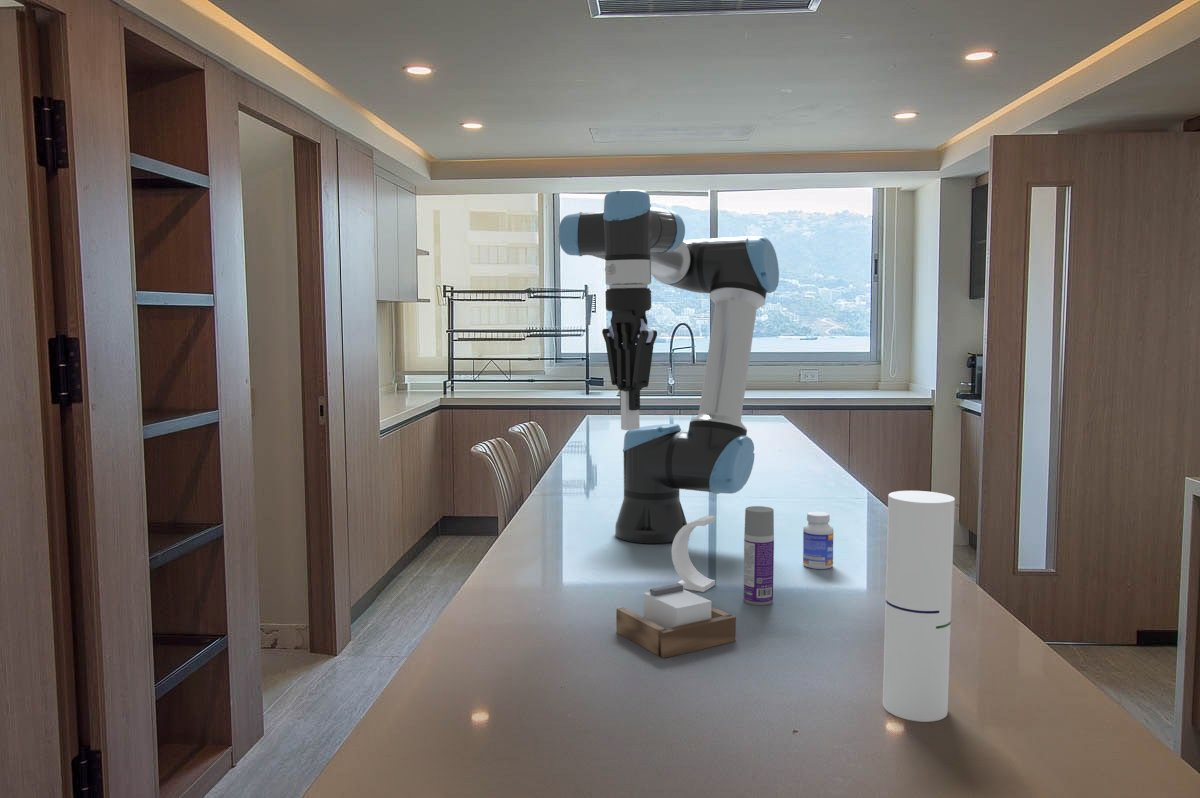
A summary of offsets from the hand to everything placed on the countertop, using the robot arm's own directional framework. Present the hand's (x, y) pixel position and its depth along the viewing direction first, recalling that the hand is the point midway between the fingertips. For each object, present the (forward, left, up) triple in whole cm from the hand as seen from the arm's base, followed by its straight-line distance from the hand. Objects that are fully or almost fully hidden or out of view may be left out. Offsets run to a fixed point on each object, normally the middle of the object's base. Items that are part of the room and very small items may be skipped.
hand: (630, 428), depth 150 cm
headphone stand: (+5, +9, -27) cm, 29 cm away
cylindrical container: (+57, +2, -27) cm, 63 cm away
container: (+17, +13, -27) cm, 35 cm away
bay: (+23, -8, -27) cm, 37 cm away
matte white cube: (+24, -8, -27) cm, 37 cm away
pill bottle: (+7, +36, -27) cm, 46 cm away
